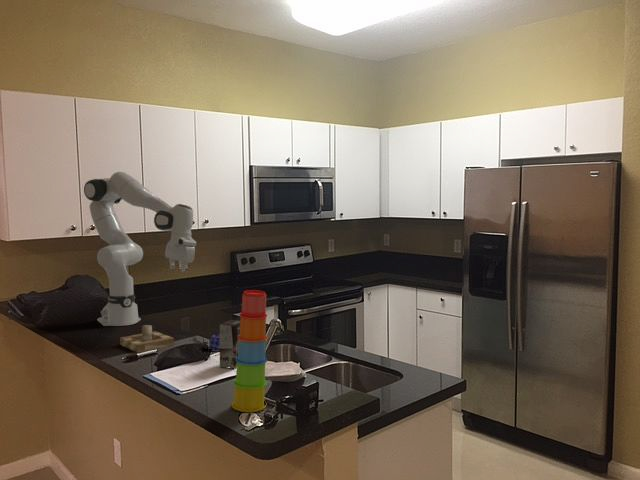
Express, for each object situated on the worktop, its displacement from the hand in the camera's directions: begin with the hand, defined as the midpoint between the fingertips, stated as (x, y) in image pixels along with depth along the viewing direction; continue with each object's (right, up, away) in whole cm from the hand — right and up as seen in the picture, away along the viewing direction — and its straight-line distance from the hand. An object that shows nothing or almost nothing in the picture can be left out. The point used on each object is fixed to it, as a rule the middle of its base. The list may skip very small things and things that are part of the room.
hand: (177, 270), depth 244 cm
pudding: (+23, -31, -22) cm, 45 cm away
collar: (-8, -30, -19) cm, 37 cm away
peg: (-8, -30, -19) cm, 37 cm away
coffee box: (+33, -33, -45) cm, 65 cm away
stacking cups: (+44, -36, -85) cm, 102 cm away
